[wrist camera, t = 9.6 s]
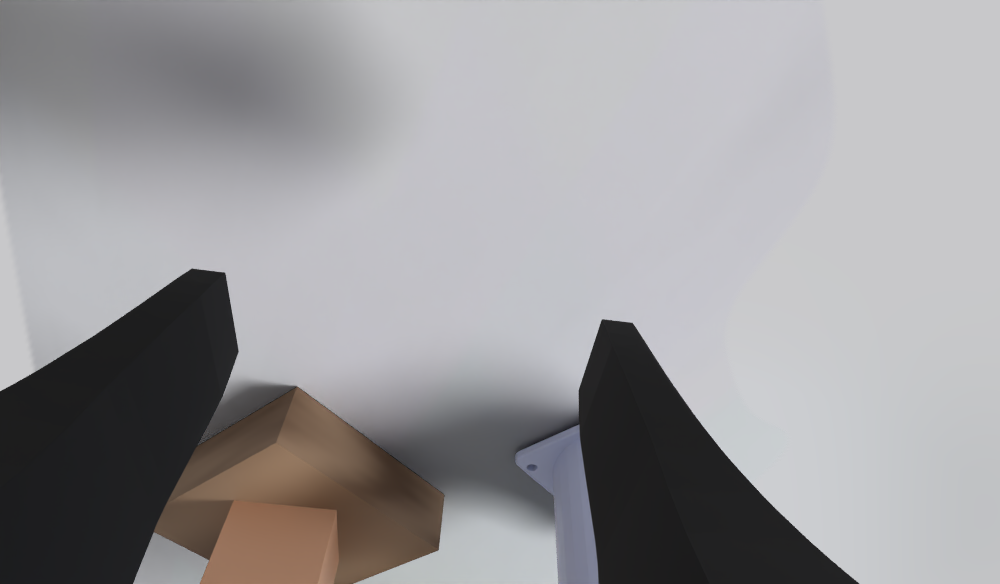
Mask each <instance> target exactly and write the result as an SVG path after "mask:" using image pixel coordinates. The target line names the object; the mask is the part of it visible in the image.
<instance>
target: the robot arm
mask: <svg viewBox="0 0 1000 584" xmlns="http://www.w3.org/2000/svg"><path fill="white" fill-rule="evenodd" d="M238 352H239V351H238V345H237V339H236V333H235V328H234V322H233V316H232V310H231V304H230V298H229V292H228V286H227V281H226V275H225V273H223V272H215V271H206V270H198V269H191V270H189V271H188V272H186V273H185V274H183V275H182V276H180V277H179V278H177V279H176V280H174V281H173V282H171V283H170V284H169V285H167V286H166V287H164V288H163V289H161V290H160V291H159V292H157V293H156V294H154V295H153V296H151V297H150V298H149V299H147V300H146V301H144V302H143V303H142V304H140V305H139V306H137V307H136V308H134V309H133V310H131V311H130V312H128V313H127V314H125V315H124V316H123V317H121V318H120V319H118V320H117V321H115V322H114V323H112V324H111V325H109V326H108V327H106V328H105V329H103V330H102V331H100V332H99V333H97V334H96V335H94V336H93V337H91V338H90V339H88V340H86V341H85V342H83V343H82V344H80V345H78V346H77V347H75V348H74V349H72V350H70V351H69V352H67V353H65V354H64V355H62V356H61V357H59V358H57V359H56V360H54V361H53V362H51V363H49V364H48V365H46V366H44V367H43V368H41V369H40V370H38V371H36V372H34V373H33V374H31V375H29V376H28V377H26V378H24V379H22V380H20V381H18V382H17V383H15V384H13V385H11V386H10V387H8V388H6V389H4V390H2V391H0V584H133V582H134V580H135V577H136V574H137V572H138V569H139V567H140V564H141V562H142V559H143V557H144V555H145V552H146V550H147V547H148V545H149V542H150V540H151V537H152V535H153V532H154V530H155V527H156V525H157V523H158V520H159V518H160V516H161V514H162V512H163V510H164V508H165V506H166V504H167V501H168V499H169V498H170V496H171V494H172V492H173V490H174V488H175V486H176V484H177V482H178V481H179V479H180V477H181V475H182V473H183V471H184V469H185V467H186V466H187V464H188V462H189V460H190V458H191V456H192V454H193V452H194V450H195V449H196V447H197V445H198V443H199V441H200V439H201V437H202V435H203V433H204V432H205V430H206V428H207V426H208V424H209V422H210V420H211V418H212V416H213V414H214V412H215V410H216V408H217V406H218V404H219V402H220V400H221V398H222V396H223V393H224V391H225V388H226V385H227V383H228V380H229V378H230V375H231V372H232V369H233V366H234V363H235V360H236V357H237V354H238ZM515 463H516V464H517V466H519V467H520V468H521V469H522V470H523V471H524V472H526V473H527V474H528V475H529V476H530V477H532V478H533V479H534V480H535V481H536V482H537V483H539V484H540V485H541V486H542V487H543V488H545V489H546V490H547V491H548V492H549V493H550V494H552V495H553V496H554V511H555V529H556V548H557V566H558V584H859V583H858V582H856V581H855V580H854V579H853V578H852V577H850V576H849V575H848V574H847V573H845V572H844V571H843V570H842V569H841V568H840V567H838V566H837V565H836V564H835V563H834V562H832V561H831V560H830V559H829V558H828V557H827V556H825V555H824V554H823V553H822V552H821V551H820V550H819V549H818V548H817V547H816V546H814V545H813V544H812V543H811V542H810V541H809V540H808V539H806V537H805V536H804V535H802V534H801V533H800V532H799V531H798V530H797V529H796V528H795V527H794V526H793V525H792V524H791V523H790V522H789V521H788V520H787V519H785V517H783V516H782V515H781V514H780V513H779V512H778V511H777V510H776V509H775V508H774V507H773V506H772V505H771V504H770V503H769V502H768V501H767V500H766V499H765V498H764V497H763V496H762V495H761V494H760V492H759V491H758V490H757V489H756V488H755V487H754V486H753V485H752V484H751V483H750V482H749V480H748V479H747V478H746V477H745V476H744V475H743V474H742V473H741V472H740V471H739V470H738V468H737V467H736V466H735V465H734V464H733V463H732V462H731V460H730V459H729V458H728V457H727V456H726V455H725V453H724V452H723V451H722V450H721V449H720V447H719V446H718V445H717V444H716V442H715V441H714V440H713V439H712V437H711V436H710V435H709V434H708V432H707V431H706V430H705V429H704V427H703V426H702V425H701V423H700V422H699V421H698V419H697V418H696V417H695V415H694V414H693V412H692V411H691V410H690V408H689V407H688V405H687V404H686V403H685V401H684V400H683V398H682V397H681V396H680V394H679V393H678V391H677V390H676V388H675V387H674V386H673V384H672V383H671V381H670V380H669V378H668V377H667V375H666V374H665V372H664V371H663V369H662V368H661V366H660V364H659V363H658V361H657V360H656V358H655V357H654V355H653V354H652V352H651V351H650V349H649V347H648V346H647V344H646V343H645V341H644V340H643V338H642V336H641V335H640V333H639V332H638V330H637V329H636V327H635V326H634V324H633V323H628V322H620V321H612V320H604V319H602V321H601V324H600V327H599V330H598V333H597V336H596V339H595V342H594V345H593V348H592V352H591V355H590V358H589V361H588V364H587V367H586V370H585V373H584V376H583V379H582V382H581V385H580V388H579V425H577V426H574V427H572V428H570V429H568V430H565V431H563V432H561V433H559V434H556V435H554V436H552V437H550V438H547V439H545V440H543V441H541V442H538V443H536V444H534V445H532V446H529V447H527V448H525V449H523V450H520V451H519V452H517V453H516V455H515Z"/></svg>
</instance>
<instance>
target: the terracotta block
mask: <svg viewBox="0 0 1000 584" xmlns="http://www.w3.org/2000/svg"><path fill="white" fill-rule="evenodd" d="M338 563H339V551H338V530H337V510H331V509H320V508H310V507H299V506H289V505H278V504H268V503H257V502H247V501H236V500H234V501H233V503H232V506H231V508H230V511H229V513H228V516H227V518H226V520H225V523H224V525H223V528H222V530H221V533H220V535H219V538H218V540H217V543H216V545H215V548H214V550H213V552H212V555H211V557H210V560H209V562H208V565H207V567H206V570H205V572H204V575H203V577H202V580H201V582H200V584H334V580H335V575H336V571H337V567H338Z"/></svg>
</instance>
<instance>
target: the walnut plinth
mask: <svg viewBox="0 0 1000 584" xmlns="http://www.w3.org/2000/svg"><path fill="white" fill-rule="evenodd" d="M234 500H236V501H247V502H257V503H268V504H278V505H289V506H299V507H310V508H320V509H331V510H337V530H338V551H339V563H338V567H337V571H336V575H335V580H334V584H353V583H356V582H358V581H361V580H364V579H366V578H369V577H371V576H374V575H376V574H379V573H381V572H384V571H387V570H389V569H392V568H394V567H397V566H399V565H402V564H405V563H407V562H410V561H412V560H415V559H417V558H420V557H422V556H425V555H428V554H430V553H433V552H435V551H438V550H439V542H440V532H441V522H442V513H443V503H444V494H442V493H441V492H440V491H438V490H437V489H435V488H434V487H433V486H431V485H430V484H429V483H427V482H426V481H425V480H423V479H422V478H421V477H419V476H418V475H416V474H415V473H414V472H412V471H411V470H410V469H408V468H407V467H406V466H404V465H403V464H401V463H400V462H399V461H397V460H396V459H395V458H393V457H392V456H391V455H389V454H388V453H386V452H385V451H384V450H382V449H381V448H380V447H378V446H377V445H376V444H374V443H373V442H372V441H370V440H369V439H367V438H366V437H365V436H363V435H362V434H361V433H359V432H358V431H357V430H355V429H354V428H352V427H351V426H350V425H348V424H347V423H346V422H344V421H343V420H342V419H340V418H339V417H338V416H336V415H335V414H333V413H332V412H331V411H329V410H328V409H327V408H325V407H324V406H323V405H321V404H320V403H318V402H317V401H316V400H314V399H313V398H312V397H310V396H309V395H308V394H306V393H305V392H303V391H302V390H301V389H299V388H298V387H296V388H294V389H293V390H291V391H289V392H288V393H286V394H284V395H283V396H281V397H279V398H278V399H276V400H274V401H273V402H271V403H269V404H267V405H266V406H264V407H262V408H261V409H259V410H257V411H256V412H254V413H252V414H251V415H249V416H247V417H246V418H244V419H242V420H241V421H239V422H237V423H236V424H234V425H232V426H230V427H229V428H227V429H225V430H224V431H222V432H220V433H219V434H217V435H215V436H214V437H212V438H210V439H209V440H207V441H205V442H204V443H202V444H200V445H199V446H197V447H196V449H195V450H194V452H193V454H192V456H191V458H190V460H189V462H188V464H187V466H186V467H185V469H184V471H183V473H182V475H181V477H180V479H179V481H178V482H177V484H176V486H175V488H174V490H173V492H172V494H171V496H170V498H169V499H168V501H167V504H166V506H165V508H164V510H163V512H162V514H161V516H160V518H159V520H158V523H157V525H156V527H155V530H154V532H155V533H157V534H159V535H161V536H163V537H165V538H167V539H169V540H171V541H173V542H175V543H177V544H179V545H181V546H183V547H185V548H186V549H188V550H190V551H192V552H194V553H196V554H198V555H200V556H202V557H204V558H206V559H208V560H210V557H211V555H212V552H213V550H214V548H215V545H216V543H217V540H218V538H219V535H220V533H221V530H222V528H223V525H224V523H225V520H226V518H227V516H228V513H229V511H230V508H231V506H232V503H233V501H234Z"/></svg>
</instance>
